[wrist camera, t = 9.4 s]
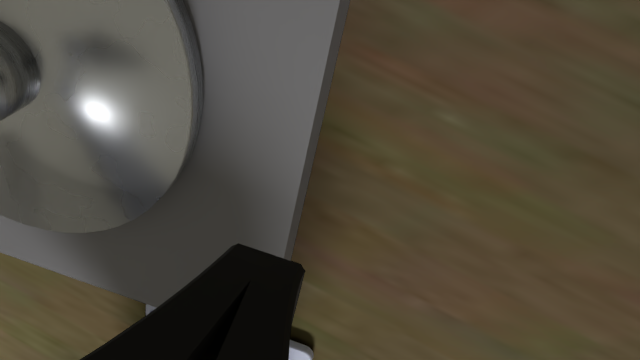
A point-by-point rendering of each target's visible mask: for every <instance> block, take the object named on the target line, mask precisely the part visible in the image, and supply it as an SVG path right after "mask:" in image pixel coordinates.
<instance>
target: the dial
mask: <svg viewBox="0 0 640 360" xmlns="http://www.w3.org/2000/svg"><path fill="white" fill-rule="evenodd" d="M202 112H203V76H202V69H201V62H200V55H199V50H198V46H197V42H196V38H195V34H194V31H193V27H192V23H191V21H190V18H189V15H188V13H187V10H186V8H185V5H184V3H183V0H0V215H1V216H3V217H6V218H9V219H11V220H14V221H17V222H19V223H22V224H25V225H29V226H32V227H36V228H40V229H44V230H50V231H57V232H64V233H88V232H97V231H103V230H107V229H111V228H115V227H118V226H121V225H123V224H125V223H127V222H130V221H132V220H134V219H136V218H137V217H139V216H140V215H141V214H143V213H144V212H146V211H147V210H149V209H150V208H151V207H152V206H153V205H154V204H155V203H156V202H157V201H158V200H159V199H160V198H161V197H162V196H163V195H164V194H165V193H166V191H167V190H168V189H169V188H170V187H171V186H172V185H173V184H174V183H175V182H176V180H177V179H178V177H179V176H180V175H181V173H182V172H183V170H184V169H185V167H186V166H187V164H188V162H189V159H190V157H191V155H192V153H193V151H194V149H195V145H196V142H197V138H198V135H199V131H200V128H201V120H202Z"/></svg>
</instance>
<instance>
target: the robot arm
mask: <svg viewBox="0 0 640 360" xmlns="http://www.w3.org/2000/svg"><path fill="white" fill-rule="evenodd" d="M304 273H305V270H304V269H303V267H302V265H301V264H299V263H296V262H293V261H290V260H287V259H284V258H281V257H278V256H275V255H272V254H269V253H266V252H263V251H260V250H257V249H254V248H251V247H248V246H245V245H242V244H239V243H238V244H235V245H233V246H231V247H230V248H229V249H228V250H227V251H226V252H225V253H224V254H222V255H221V256H220V257H219V258H218V259H217V260H216V261H215V262H213V263H212V264H211V265H210V266H209V267H208V268H206V269H205V270H204V271H203V272H202V273H201V274H199V275H198V276H197V277H196V278H194V279H193V280H192V281H191V282H189V283H188V284H187V285H186V286H185V287H183V288H182V289H181V290H179V291H178V292H177V293H175V294H174V295H173V296H172V297H170V298H169V299H168V300H166V301H165V302H164V303H162V304H161V305H160V306H158V307H157V308H156V307H153V306H151V305H148V304H146V316H145V317H143V318H142V319H141V320H139V321H138V322H136V323H135V324H133V325H132V326H130V327H129V328H127V329H126V330H124V331H123V332H122V333H120V334H119V335H117V336H116V337H114V338H113V339H111V340H110V341H108V342H107V343H105V344H104V345H102V346H101V347H99V348H98V349H96V350H94V351H93V352H91V353H90V354H88V355H86V356H85V357H83V358H82V359H80V360H312V359H313V351H312V350H311V349H310V348H309V347H308V346H306V345H303V344H301V343H298V342H295V341H292V340H290V333H291V325H292V321H293V317H294V313H295V309H296V305H297V301H298V297H299V293H300V289H301V285H302V281H303V277H304Z"/></svg>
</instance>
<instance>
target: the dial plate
mask: <svg viewBox="0 0 640 360" xmlns="http://www.w3.org/2000/svg"><path fill="white" fill-rule="evenodd" d="M183 3H184V5H185V8H186V10H187V13H188V15H189V18H190V21H191V23H192V27H193V31H194V34H195V38H196V42H197V46H198V50H199V55H200V62H201V69H202V76H203V112H202V120H201V128H200V131H199V135H198V138H197V142H196V145H195V149H194V151H193V153H192V155H191V157H190V159H189V162H188V164H187V166H186V167H185V169H184V170H183V172H182V173H181V175H180V176H179V177H178V179H177V180H176V182H175V183H174V184H173V185H172V186H171V187H170V188H169V189H168V190H167V191H166V193H165V194H164V195H163V196H162V197H161V198H160V199H159V200H158V201H157V202H156V203H155V204H154V205H153V206H152V207H151V208H150V209H149V210H147V211H146V212H144V213H143V214H141V215H140V216H139V217H137V218H136V219H134V220H132V221H130V222H127V223H125V224H123V225H121V226H118V227H115V228H111V229H107V230H103V231H97V232H88V233H64V232H57V231H50V230H44V229H40V228H36V227H32V226H29V225H25V224H22V223H19V222H17V221H14V220H11V219H9V218H6V217H3V216H1V215H0V252H1V253H4V254H6V255H9V256H12V257H15V258H18V259H21V260H23V261H26V262H29V263H32V264H35V265H37V266H40V267H43V268H46V269H49V270H52V271H54V272H57V273H60V274H63V275H66V276H69V277H71V278H74V279H77V280H80V281H83V282H86V283H88V284H91V285H94V286H97V287H100V288H103V289H105V290H108V291H111V292H114V293H117V294H120V295H122V296H125V297H128V298H131V299H134V300H137V301H139V302H142V303H145V304H148V305H151V306H153V307H156V308H157V307H158V306H160V305H161V304H162V303H164V302H165V301H166V300H168V299H169V298H170V297H172V296H173V295H174V294H175V293H177V292H178V291H179V290H181V289H182V288H183V287H185V286H186V285H187V284H188V283H189V282H191V281H192V280H193V279H194V278H196V277H197V276H198V275H199V274H201V273H202V272H203V271H204V270H205V269H206V268H208V267H209V266H210V265H211V264H212V263H213V262H215V261H216V260H217V259H218V258H219V257H220V256H221V255H222V254H224V253H225V252H226V251H227V250H228V249H229V248H230V247H231V246H233V245H235V244H238V243H239V244H242V245H245V246H248V247H251V248H254V249H257V250H260V251H263V252H266V253H269V254H272V255H275V256H278V257H281V258H284V259H287V260H290V261H291V257H292V253H293V248H294V244H295V239H296V235H297V231H298V226H299V222H300V218H301V213H302V209H303V204H304V200H305V196H306V191H307V187H308V182H309V178H310V174H311V169H312V165H313V161H314V156H315V152H316V147H317V143H318V139H319V134H320V130H321V126H322V121H323V117H324V112H325V108H326V104H327V99H328V95H329V91H330V86H331V82H332V77H333V73H334V69H335V64H336V60H337V56H338V51H339V47H340V42H341V38H342V34H343V29H344V25H345V20H346V16H347V12H348V7H349V3H350V0H183Z"/></svg>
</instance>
